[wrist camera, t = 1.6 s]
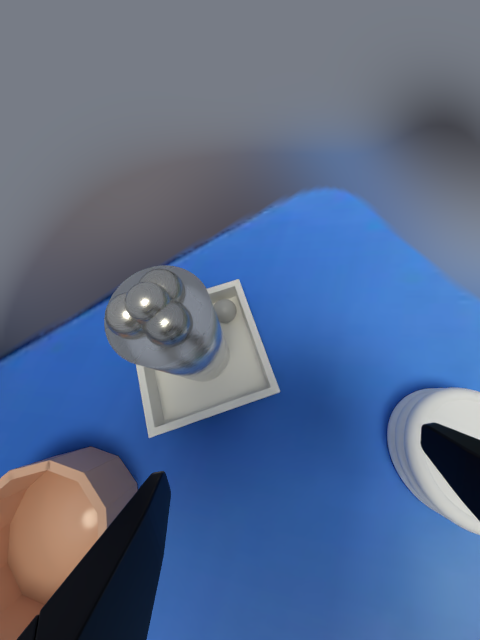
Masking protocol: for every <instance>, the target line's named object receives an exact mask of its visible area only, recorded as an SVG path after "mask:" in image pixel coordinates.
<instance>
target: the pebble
mask: <svg viewBox="0 0 480 640" xmlns="http://www.w3.org/2000/svg"><path fill="white" fill-rule="evenodd" d="M213 307H214V309H215V312H216V315H217V317H218V320H219V322H222V323H227V322H230V321H232V320H233V319H234V318H235V316H236V312H237V309H236V306H235V304H234V303H233V302H232V301H231V300H228V299H221V300H218V301H217V302H216V303H215V304H214V306H213Z"/></svg>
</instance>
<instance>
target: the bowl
mask: <svg viewBox="0 0 480 640" xmlns="http://www.w3.org/2000/svg"><path fill="white" fill-rule="evenodd" d="M137 491H138V489H137V483H136V481H135V480H134V478H133V477H132V475H131V474H130V472H129V471H128V469H127V468H126V466H125V465H124V463H123V462H122V461H121V459H120V458H119V456H116V455H113V454H111V453H108V452H105V451H102V450H99V449H97V448H94V447H91V446H90V447H87V448H83V449H79V450H76V451H72V452H68V453H65V454H61V455H57V456H54V457H51V458H48V459H44V460H41V461H38V462H35V463H32V464H29V465H26V466H22V467H19V468H16V469H13V470H10V471H9V472H7V473H6V474H5V475H4V476H3V477H2V478H1V479H0V640H16V639H17V638H18V637H19V636H20V634H21V633H22V632H23V631H24V629H25V628H26V627H27V626H28V625H29V623H30V622H31V621H32V620H33V618H34V617H35V616H36V615H38V614H39V613H40V610H41V609H42V608H43V606H44V605H45V604H46V603H47V601H48V600H49V599H50V598H51V596H52V595H53V594H54V593H55V592H56V590H57V589H58V588H59V587H60V585H61V584H62V583H63V582H64V580H65V579H66V578H67V577H68V576H69V574H70V573H71V572H72V571H73V569H74V568H75V567H76V566H77V564H78V563H79V562H80V561H81V560H82V558H83V557H84V556H85V555H86V553H87V552H88V551H89V550H90V548H91V547H92V546H93V545H94V544H95V542H96V541H97V540H98V539H99V537H100V536H101V535H102V534H103V532H104V531H105V530H106V529H107V528H108V526H109V525H110V524H111V523H112V521H113V520H114V519H115V518H116V517H117V515H118V514H119V513H120V512H121V510H122V509H123V508H124V507H125V505H126V504H127V503H128V502H129V501H130V499H131V498H132V497H133V496H134V494H135V493H136V492H137Z"/></svg>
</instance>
